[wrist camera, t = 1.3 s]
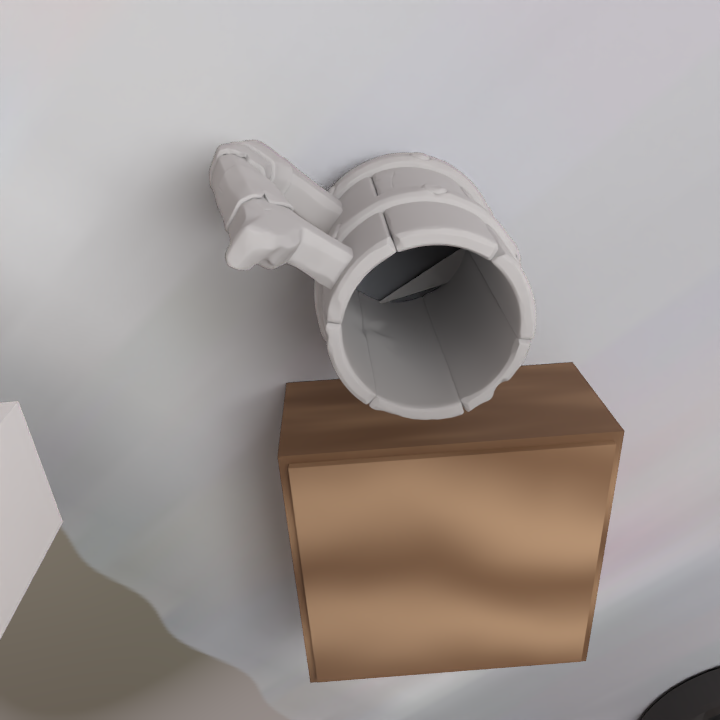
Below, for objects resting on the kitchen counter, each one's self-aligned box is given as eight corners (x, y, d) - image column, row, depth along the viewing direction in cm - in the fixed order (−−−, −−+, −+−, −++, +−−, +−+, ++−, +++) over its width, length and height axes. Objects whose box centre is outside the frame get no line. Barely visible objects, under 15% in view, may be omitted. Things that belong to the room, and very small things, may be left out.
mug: (419, 347, 30) (470, 519, 19) (193, 214, 26) (100, 334, 16) (521, 212, 27) (648, 325, 16) (282, 45, 24) (244, 50, 13)
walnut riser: (548, 570, 37) (588, 666, 31) (313, 589, 37) (310, 688, 31) (572, 362, 30) (627, 435, 25) (286, 382, 30) (277, 461, 25)
